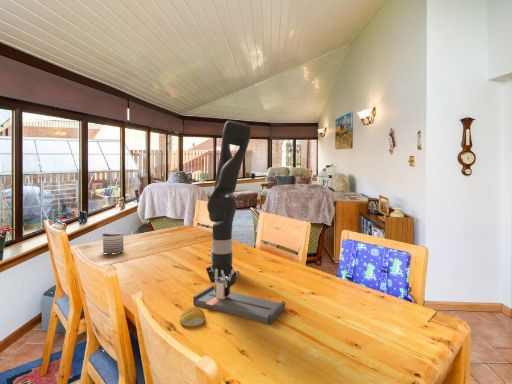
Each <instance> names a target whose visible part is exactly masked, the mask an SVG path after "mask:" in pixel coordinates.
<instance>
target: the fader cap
mask: <svg viewBox="0 0 512 384" xmlns="http://www.w3.org/2000/svg"><path fill="white" fill-rule="evenodd" d="M224 287H225V286H224V281H223V278H221V280H219V281H218V282H216V298H219V299H225V298H226V297H225V296H224ZM228 296H229V295H228Z"/></svg>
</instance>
